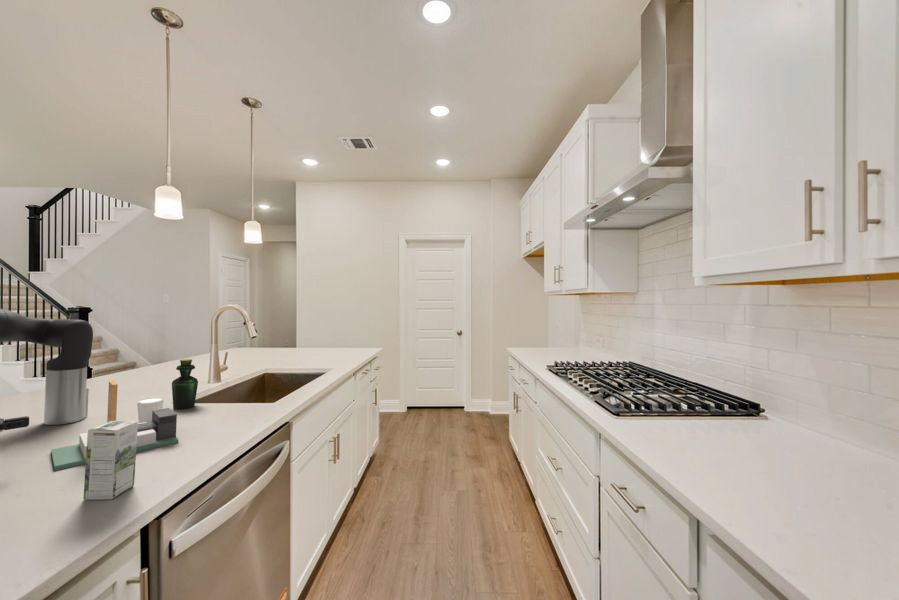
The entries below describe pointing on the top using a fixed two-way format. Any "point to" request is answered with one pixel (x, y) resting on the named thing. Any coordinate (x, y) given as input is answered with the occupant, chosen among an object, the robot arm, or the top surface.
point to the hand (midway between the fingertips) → (28, 421)
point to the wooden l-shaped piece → (113, 407)
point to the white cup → (148, 408)
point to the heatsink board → (77, 458)
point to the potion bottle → (184, 386)
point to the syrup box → (110, 460)
